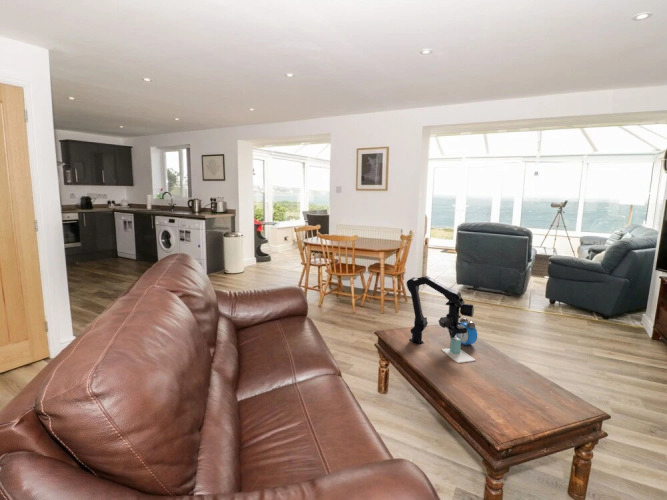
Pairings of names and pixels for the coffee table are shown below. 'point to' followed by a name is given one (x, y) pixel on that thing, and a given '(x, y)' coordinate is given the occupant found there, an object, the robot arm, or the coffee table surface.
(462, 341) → the alarm clock
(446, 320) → the robot arm
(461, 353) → the mat
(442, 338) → the coffee table surface
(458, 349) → the block
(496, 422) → the coffee table surface
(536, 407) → the coffee table surface
